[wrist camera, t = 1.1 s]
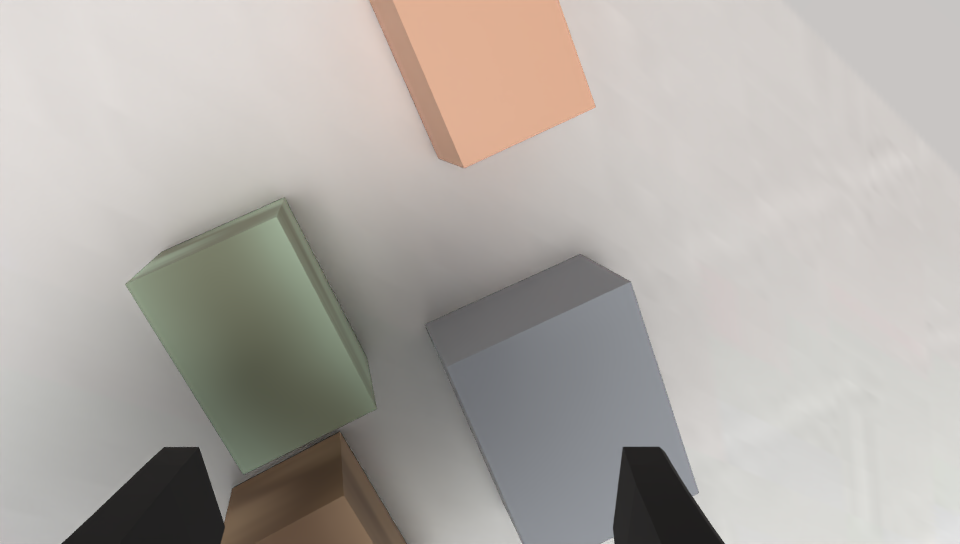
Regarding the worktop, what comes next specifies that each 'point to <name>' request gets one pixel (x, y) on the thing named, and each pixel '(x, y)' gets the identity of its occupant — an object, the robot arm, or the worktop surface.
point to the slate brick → (559, 396)
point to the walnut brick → (310, 502)
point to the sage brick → (257, 335)
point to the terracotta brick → (485, 70)
